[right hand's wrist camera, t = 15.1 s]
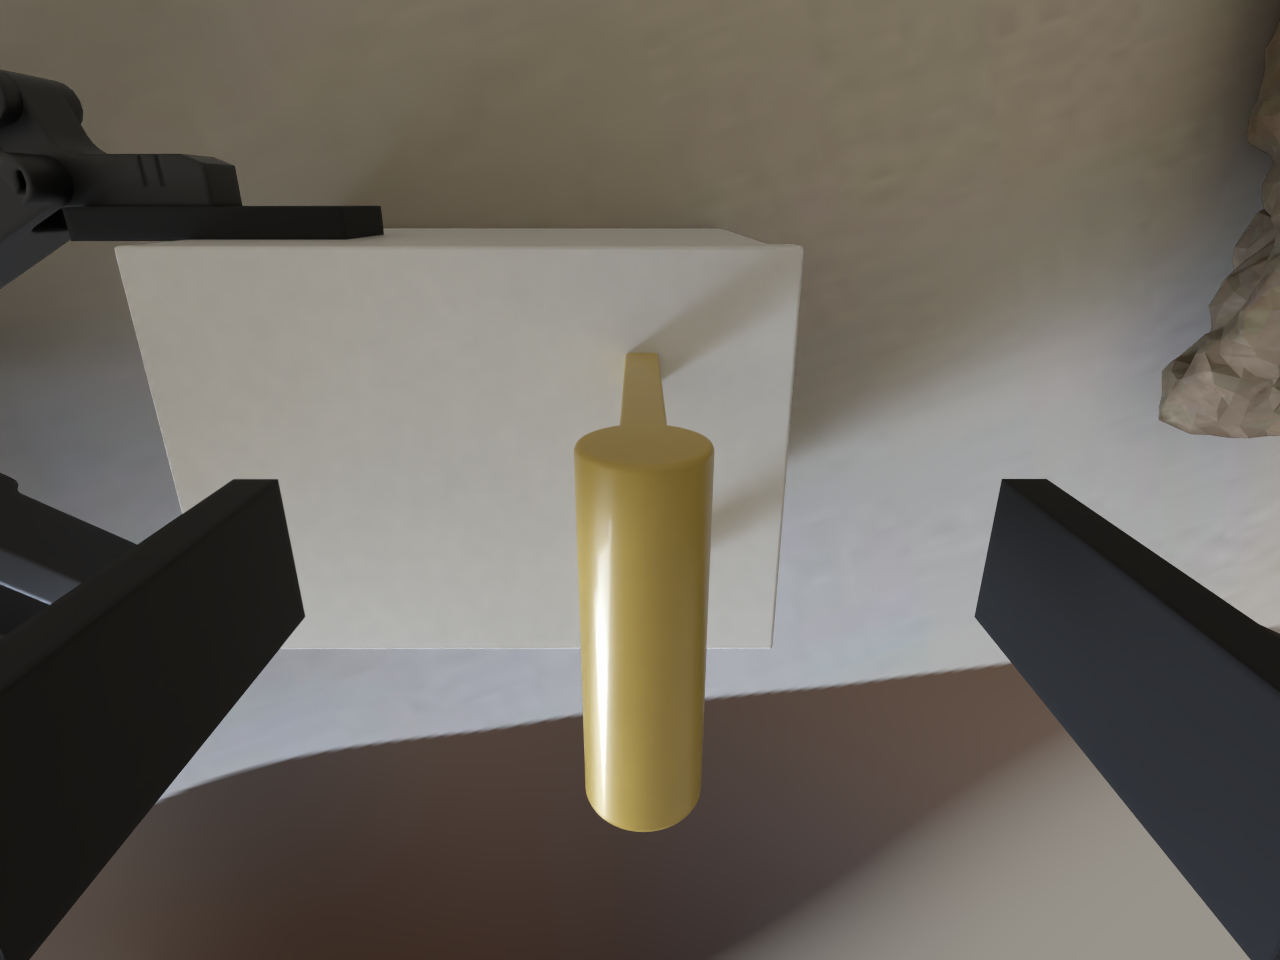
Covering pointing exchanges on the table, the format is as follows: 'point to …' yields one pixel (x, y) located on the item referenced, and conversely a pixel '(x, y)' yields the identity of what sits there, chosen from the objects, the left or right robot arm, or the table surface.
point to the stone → (1240, 312)
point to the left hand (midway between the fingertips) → (390, 421)
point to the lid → (503, 455)
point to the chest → (522, 236)
